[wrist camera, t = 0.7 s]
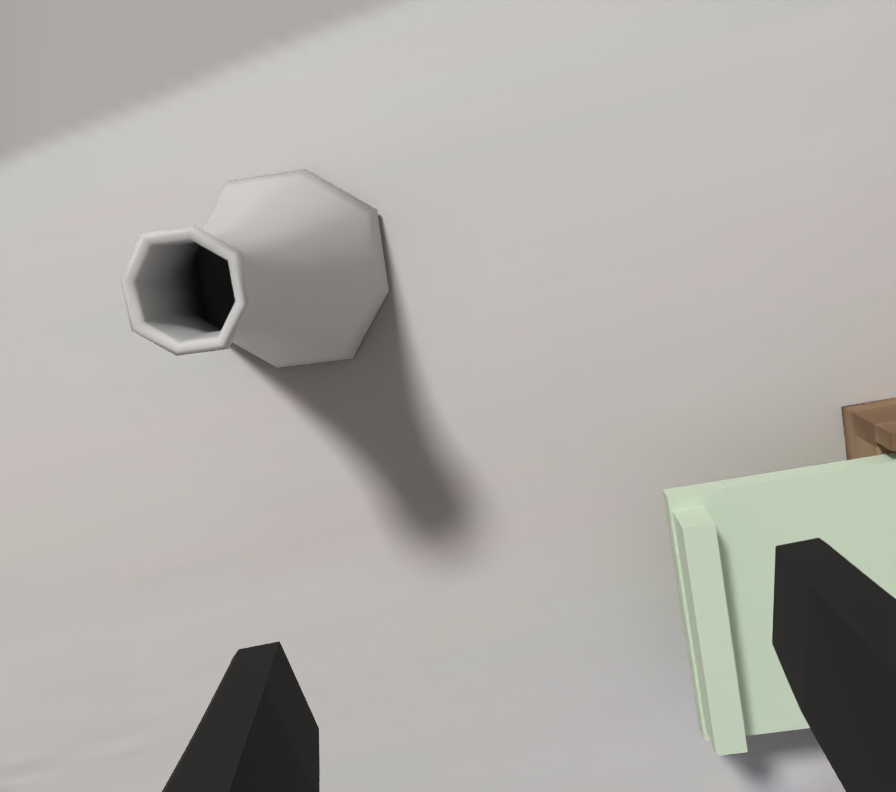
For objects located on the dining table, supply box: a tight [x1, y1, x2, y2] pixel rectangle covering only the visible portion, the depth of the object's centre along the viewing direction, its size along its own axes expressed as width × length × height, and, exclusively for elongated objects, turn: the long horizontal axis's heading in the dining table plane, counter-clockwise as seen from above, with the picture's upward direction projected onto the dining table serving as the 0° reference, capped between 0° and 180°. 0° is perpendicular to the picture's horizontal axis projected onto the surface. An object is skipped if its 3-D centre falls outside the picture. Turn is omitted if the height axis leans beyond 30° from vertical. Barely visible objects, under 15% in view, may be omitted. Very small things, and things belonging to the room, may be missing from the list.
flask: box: [121, 170, 389, 368], centre depth 24 cm, size 7×7×10 cm
